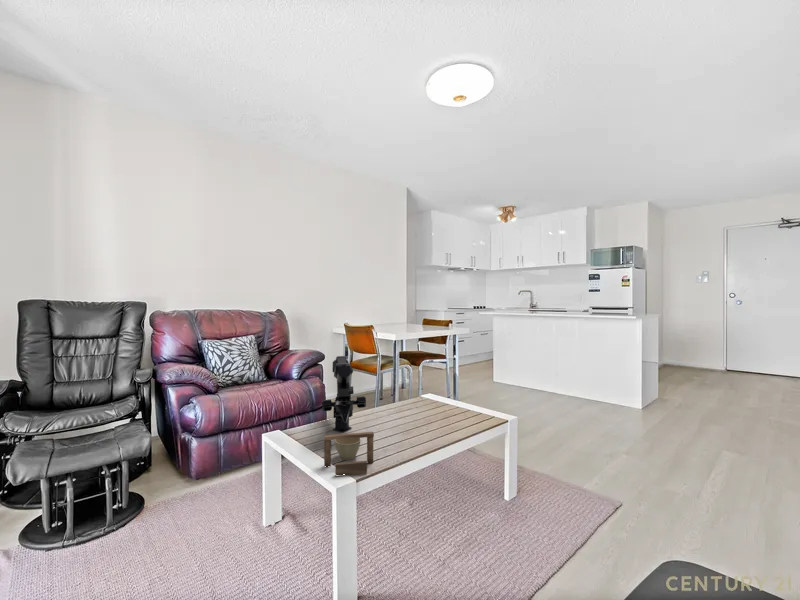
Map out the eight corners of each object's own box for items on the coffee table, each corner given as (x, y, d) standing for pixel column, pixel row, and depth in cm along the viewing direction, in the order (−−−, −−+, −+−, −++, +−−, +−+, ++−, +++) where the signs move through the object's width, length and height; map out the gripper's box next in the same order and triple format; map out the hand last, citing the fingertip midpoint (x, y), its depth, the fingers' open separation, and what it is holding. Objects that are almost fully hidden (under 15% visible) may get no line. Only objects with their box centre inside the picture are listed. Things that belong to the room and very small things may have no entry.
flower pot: (348, 450, 159) (348, 433, 159) (365, 457, 152) (365, 438, 152) (329, 458, 151) (329, 440, 151) (347, 465, 145) (347, 446, 145)
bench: (324, 464, 145) (324, 435, 145) (372, 460, 149) (372, 431, 149) (324, 477, 135) (324, 445, 135) (377, 472, 139) (377, 441, 139)
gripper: (320, 382, 165) (320, 416, 155) (364, 378, 168) (367, 412, 158) (323, 394, 174) (323, 427, 164) (364, 390, 176) (367, 423, 166)
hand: (345, 422), depth 163 cm, fingers closed
